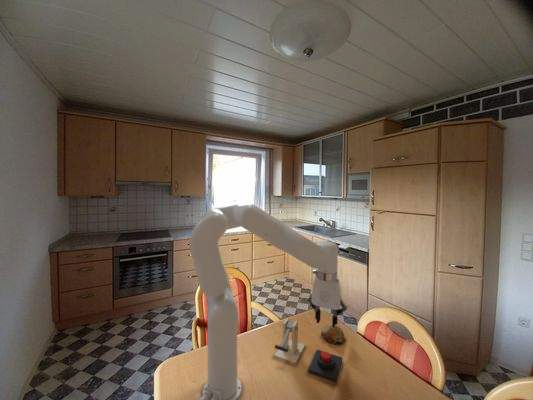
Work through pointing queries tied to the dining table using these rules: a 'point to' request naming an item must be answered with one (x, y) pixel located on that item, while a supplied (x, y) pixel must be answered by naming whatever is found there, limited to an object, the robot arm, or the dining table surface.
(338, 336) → the bread roll
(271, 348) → the dining table surface
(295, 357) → the toaster bracket
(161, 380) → the dining table surface
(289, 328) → the toaster lever
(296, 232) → the robot arm
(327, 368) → the control block
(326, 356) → the button
